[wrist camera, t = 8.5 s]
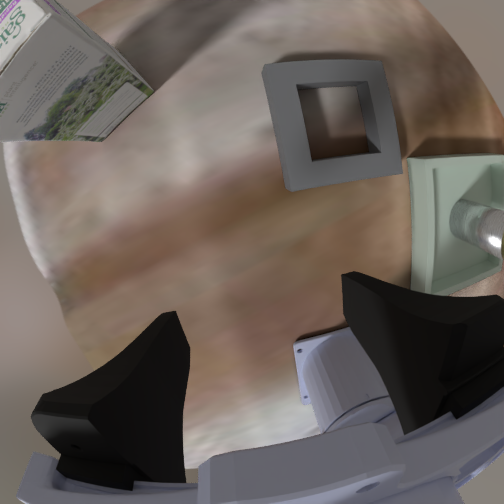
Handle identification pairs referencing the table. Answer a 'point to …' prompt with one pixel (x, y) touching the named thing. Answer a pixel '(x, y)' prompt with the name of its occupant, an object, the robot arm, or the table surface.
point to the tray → (438, 213)
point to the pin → (478, 226)
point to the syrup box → (60, 76)
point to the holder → (294, 132)
